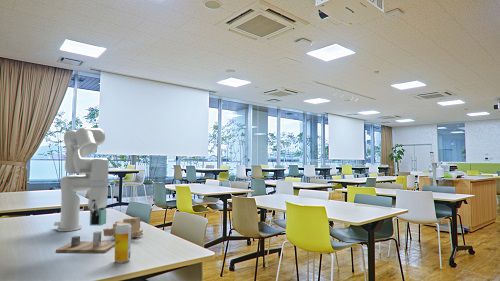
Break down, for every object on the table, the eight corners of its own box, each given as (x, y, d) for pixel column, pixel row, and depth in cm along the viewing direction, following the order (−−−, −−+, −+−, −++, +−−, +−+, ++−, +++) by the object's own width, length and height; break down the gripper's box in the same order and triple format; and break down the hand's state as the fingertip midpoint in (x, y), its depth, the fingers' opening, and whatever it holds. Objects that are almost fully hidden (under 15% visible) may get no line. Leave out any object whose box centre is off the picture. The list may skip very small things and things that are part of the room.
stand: (55, 252, 140) (56, 240, 140) (72, 243, 154) (73, 233, 154) (105, 252, 140) (105, 240, 140) (117, 244, 154) (118, 233, 154)
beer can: (117, 258, 132) (118, 222, 133) (132, 258, 132) (133, 222, 133) (112, 263, 126) (113, 225, 127) (127, 263, 126) (128, 225, 127)
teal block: (89, 225, 145) (90, 211, 145) (95, 223, 150) (95, 209, 150) (101, 225, 145) (101, 211, 145) (106, 223, 150) (106, 209, 150)
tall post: (92, 246, 146) (93, 232, 146) (95, 244, 148) (96, 231, 148) (98, 246, 146) (98, 232, 146) (101, 244, 148) (101, 231, 149)
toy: (149, 214, 174) (121, 217, 181) (124, 221, 156) (93, 223, 163) (151, 232, 173) (122, 234, 180) (126, 241, 155) (95, 243, 162)
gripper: (99, 183, 157) (98, 219, 156) (81, 185, 140) (80, 226, 139) (114, 183, 157) (113, 219, 156) (98, 185, 140) (97, 226, 139)
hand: (98, 222), depth 147 cm, fingers closed on teal block, 5 cm apart
